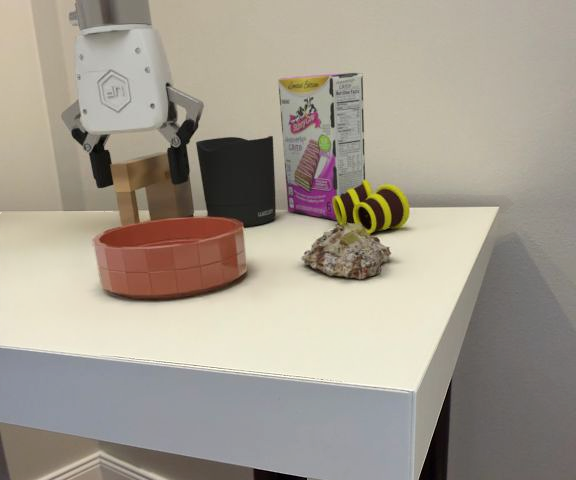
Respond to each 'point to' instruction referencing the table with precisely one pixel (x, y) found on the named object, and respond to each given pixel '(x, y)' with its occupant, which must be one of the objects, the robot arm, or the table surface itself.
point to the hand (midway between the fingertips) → (142, 184)
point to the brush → (150, 189)
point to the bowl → (171, 256)
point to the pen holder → (238, 178)
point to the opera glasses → (372, 207)
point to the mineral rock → (347, 252)
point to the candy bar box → (322, 139)
